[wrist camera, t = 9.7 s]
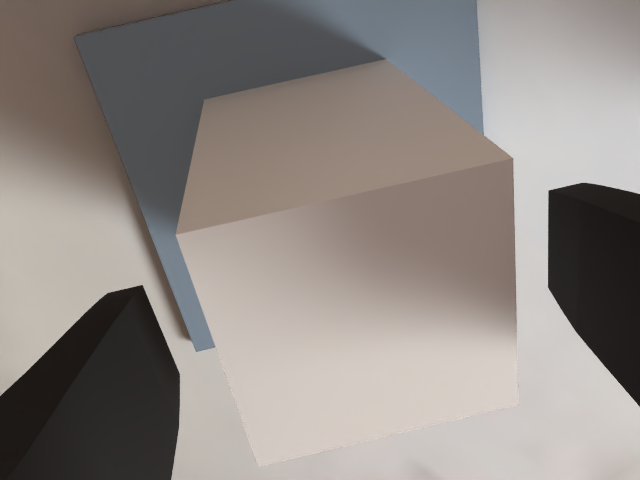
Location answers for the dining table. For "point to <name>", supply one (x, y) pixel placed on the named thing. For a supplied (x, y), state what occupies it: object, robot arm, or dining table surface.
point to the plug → (351, 259)
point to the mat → (255, 84)
